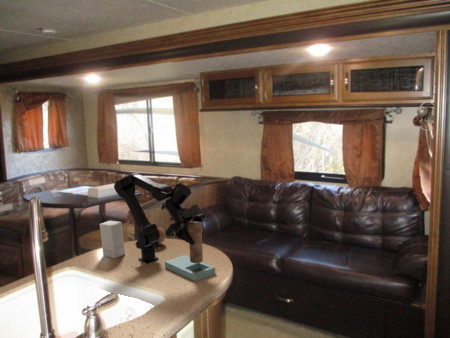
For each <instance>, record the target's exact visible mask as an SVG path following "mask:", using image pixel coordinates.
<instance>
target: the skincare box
mask: <svg viewBox="0 0 450 338" xmlns="http://www.w3.org/2000/svg"><path fill="white" fill-rule="evenodd" d="M99 233H100V238H101V239H100V240H101V247H102V254H103V255H102V256H103V257H106V258H110V259H118V258H120V257H122V256H124V255H126V250H125V249H126V248H125V240H124V231H123V223H122V221H116V220H107V221H105V222H102V223H99Z"/></svg>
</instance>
